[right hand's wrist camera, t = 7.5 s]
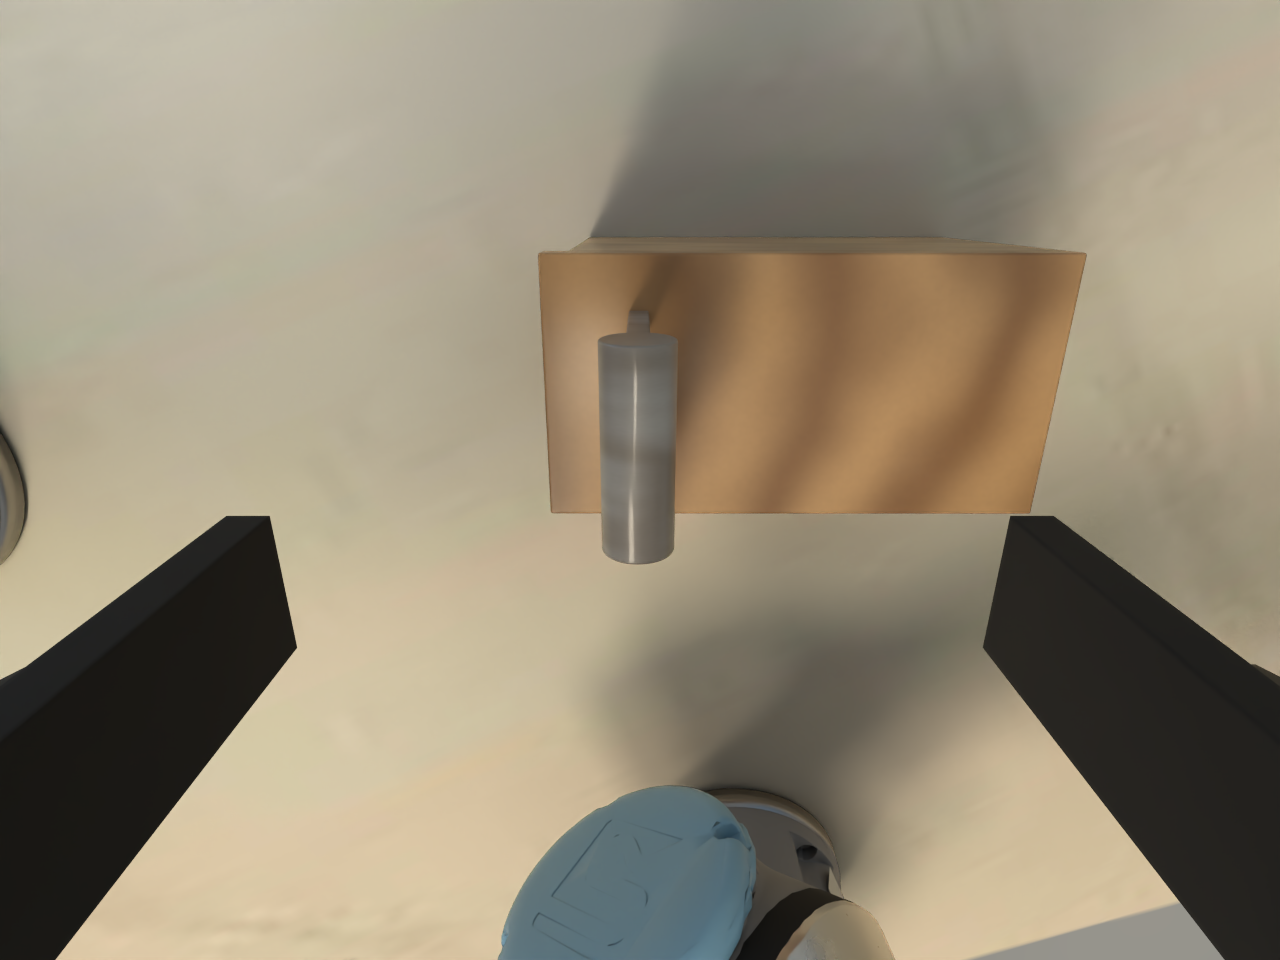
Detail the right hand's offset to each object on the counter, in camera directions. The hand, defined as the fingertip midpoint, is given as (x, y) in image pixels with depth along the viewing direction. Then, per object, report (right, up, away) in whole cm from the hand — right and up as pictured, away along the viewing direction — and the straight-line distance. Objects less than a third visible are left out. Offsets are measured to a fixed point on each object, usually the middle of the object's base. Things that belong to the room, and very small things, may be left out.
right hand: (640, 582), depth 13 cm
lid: (+6, +5, +14) cm, 16 cm away
